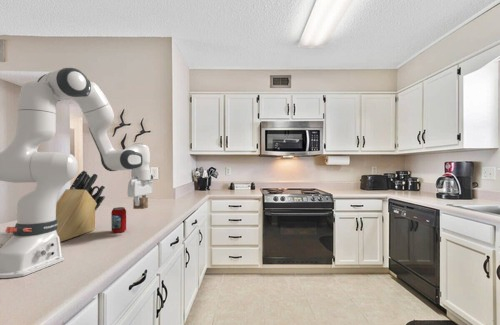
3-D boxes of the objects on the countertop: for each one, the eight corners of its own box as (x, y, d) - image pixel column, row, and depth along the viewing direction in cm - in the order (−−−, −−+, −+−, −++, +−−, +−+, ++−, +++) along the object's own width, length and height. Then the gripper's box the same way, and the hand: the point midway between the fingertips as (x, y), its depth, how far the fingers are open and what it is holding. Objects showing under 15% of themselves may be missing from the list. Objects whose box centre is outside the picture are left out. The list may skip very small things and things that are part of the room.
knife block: (107, 226, 155) (106, 169, 155) (56, 245, 120) (55, 172, 120) (88, 225, 157) (87, 169, 156) (32, 244, 122) (31, 172, 121)
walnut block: (143, 208, 137) (143, 198, 137) (133, 208, 137) (133, 198, 137) (147, 207, 142) (147, 197, 142) (138, 207, 142) (138, 197, 142)
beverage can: (108, 232, 141) (108, 208, 141) (120, 229, 147) (120, 206, 147) (117, 234, 138) (117, 209, 138) (129, 231, 144) (129, 207, 144)
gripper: (137, 177, 129) (137, 207, 129) (154, 176, 150) (155, 202, 149) (123, 177, 130) (123, 207, 129) (143, 176, 150) (143, 202, 150)
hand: (140, 204), depth 139 cm, fingers closed on walnut block, 5 cm apart
